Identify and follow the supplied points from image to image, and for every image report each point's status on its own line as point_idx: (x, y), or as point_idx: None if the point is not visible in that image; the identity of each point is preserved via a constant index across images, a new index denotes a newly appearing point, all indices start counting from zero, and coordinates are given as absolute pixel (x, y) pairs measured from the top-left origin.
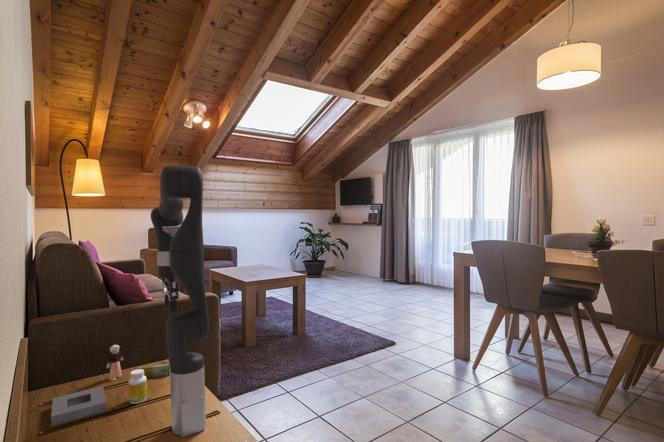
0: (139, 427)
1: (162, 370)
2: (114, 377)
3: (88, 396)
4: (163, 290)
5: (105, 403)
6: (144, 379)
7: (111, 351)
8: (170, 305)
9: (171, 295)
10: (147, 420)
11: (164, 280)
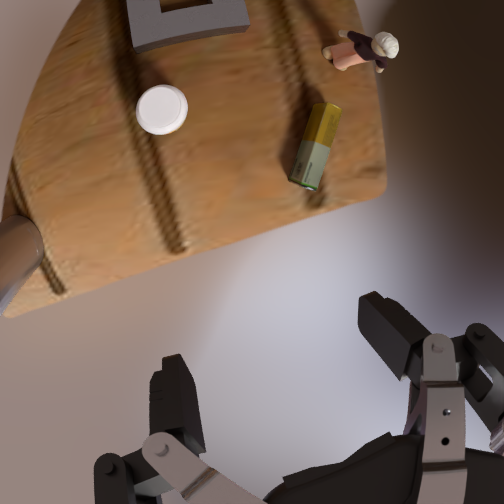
0: (37, 147)
1: (300, 166)
2: (330, 54)
3: (211, 3)
4: (427, 410)
5: (133, 46)
6: (148, 130)
7: (376, 35)
8: (163, 398)
9: (99, 498)
10: (57, 156)
11: (498, 482)
